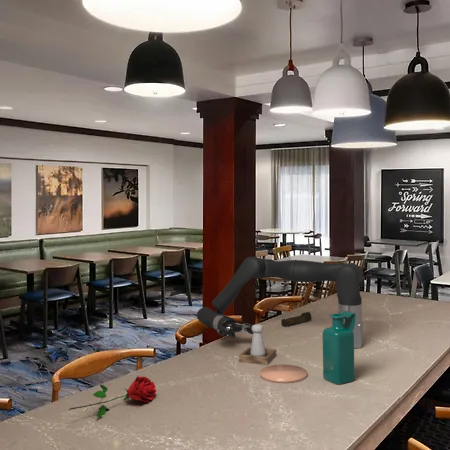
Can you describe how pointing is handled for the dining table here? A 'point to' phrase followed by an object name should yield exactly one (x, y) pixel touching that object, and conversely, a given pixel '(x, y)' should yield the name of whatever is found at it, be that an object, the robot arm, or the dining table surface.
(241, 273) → the robot arm
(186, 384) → the dining table surface
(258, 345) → the salt shaker
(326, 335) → the pitcher
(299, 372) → the terracotta pad
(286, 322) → the hand tool
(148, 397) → the flower
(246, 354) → the brown wooden square frame
